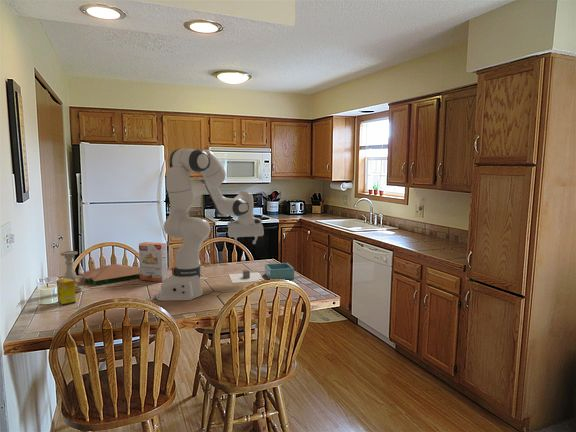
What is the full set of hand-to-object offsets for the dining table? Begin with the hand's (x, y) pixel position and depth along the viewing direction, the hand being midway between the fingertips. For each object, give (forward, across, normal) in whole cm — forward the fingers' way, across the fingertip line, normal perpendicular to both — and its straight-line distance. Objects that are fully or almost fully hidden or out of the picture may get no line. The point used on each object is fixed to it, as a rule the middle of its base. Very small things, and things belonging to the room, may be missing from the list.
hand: (246, 244), depth 234 cm
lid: (+20, 0, 0) cm, 20 cm away
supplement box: (+19, -88, -23) cm, 93 cm away
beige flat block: (+20, -73, +18) cm, 78 cm away
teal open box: (+20, +19, -2) cm, 27 cm away
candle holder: (+19, -90, -5) cm, 92 cm away
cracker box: (+20, -51, +8) cm, 55 cm away
